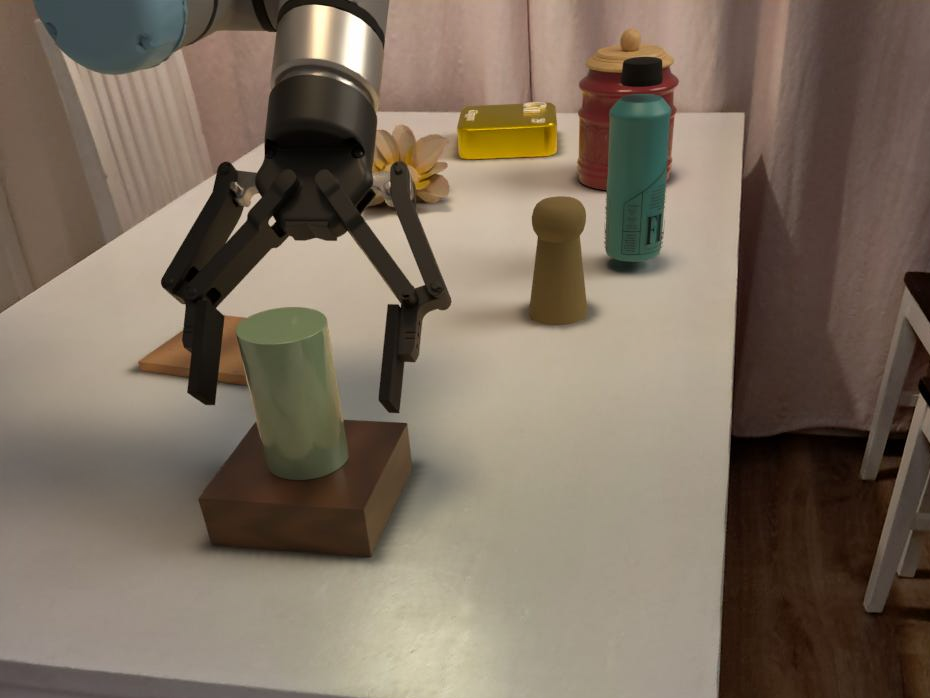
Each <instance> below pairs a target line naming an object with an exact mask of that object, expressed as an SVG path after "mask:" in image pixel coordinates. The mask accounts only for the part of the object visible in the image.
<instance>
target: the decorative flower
mask: <svg viewBox="0 0 930 698" xmlns="http://www.w3.org/2000/svg"><path fill="white" fill-rule="evenodd" d="M448 143H449V140H448V139H447V138H446V137H444V136H443V135H440V134H438V133H437V134H435V133H434V134H428V135H426V136H423V137H420V138H419V139H418V140H417V139H416V135H415V134H414V132H413V131H412V129H411V128H410V127H409V126H407V125H405V124H403V123H402V124H396V125H394V128H393V130H392V133H390V132H388V130H385V129H377V131H376V141H375V151H374V161H373V166H372V172H373V173H375V172H383V171H390V168H391V166H392V164H393V163H395V162H397V161H403V162H405V163H406V165H407V167H408V169H409V172H410V174H411V176H412V179H413V181H414V183H415V186H416V197H417V196H418V197H419V198H420V199H421V200H423V201H424V202H425V203H429V204H432V203H433V204H434V203H438V202H439V201H440V200H441V199H442V198H447V197H448V196H449V194H450V183H449V181H448V179H447V178H446V177H445V176H444V175H443V174H439V173H441V172H444V171H445V170H446V169H448V162H446V161H439V160H440V158H441V157H442V155H443V153H444V151H445V150H446V148H447V146H448ZM383 202H385V199H384V197H383V195H381V194H376V196H375V198H374V199H373V201H372V202H371V203H370V204H369V205H368V207H373V206H377V205H380V204H382V203H383ZM368 207H367V208H368Z"/></svg>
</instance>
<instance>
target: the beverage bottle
mask: <svg viewBox="0 0 930 698" xmlns="http://www.w3.org/2000/svg"><path fill="white" fill-rule="evenodd" d="M662 81H663V74H662V60H661V59H660V58H656V57H634V58H629V59H626V60H625V61H624V62H623V67H622V75H621V84H622V85H624V86H629V87H649V86H655V85H659V84H661V83H662ZM670 115H671V108H670V106H669V105H668V104H667V102H666V101H665V100H664V99H663V98H662V97H661V96H659V95H654V94H632V95H626V96H623V97H621V98H620V99H619V100H618V101H617V102H616V103H615V104H614V105H613V107H612V108H611V109H610V112H609V117H610V126H609V155H608V175H607V176H608V178H607V190H606V191H605V192H606V196H605V201H604V203H605V210H604V215H605V221H604V224H605V225H604V226H603V227H604V236H603V238H604V240H603V244H604V250H605V253H606V255H607V256H608V257H609V258H611V259H614V260H617V261H621V262H643V261H648V260H652V259H654V258H656V257H658V256H659V255H660V253H661V250H662V248H663V246H662V245H663V244H664V241H663V240H664V234H665V229H664V224H665V222H666V221H665V219H664V218H665V211H666V209H665V208H666V206H665V204H666V202H667V200H666V199H667V197H666V196H667V195H666V191H667V181H666V175H667V165H669V164H667V161H668V145H669V143H668V141H669V126H670ZM669 150H670V148H669ZM605 186H606V185H605Z"/></svg>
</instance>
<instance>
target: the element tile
mask: <svg viewBox="0 0 930 698" xmlns="http://www.w3.org/2000/svg"><path fill="white" fill-rule="evenodd" d="M557 119H558V117H557V108H556V106H555V104H553V103H552V102H543V101H529V102H524V103H510V104H509V103H507V104H487V105H468V106H464V107H463V108H462V109H461V110H460V113H459V117H458V122H457V127H456V137H457V153H458V157H459V158H460V159H462V160H468V161H469V160H470V161H473V160H474V161H475V160H497V159H501V160H502V159H520V158H543V157H551V156H553V155H555V154H556V153H557V151H558V120H557Z"/></svg>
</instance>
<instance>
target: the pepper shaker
mask: <svg viewBox="0 0 930 698" xmlns="http://www.w3.org/2000/svg"><path fill="white" fill-rule="evenodd" d="M586 223H587V211H586V207H585V206H584V204H583V203H582V201H581V200H579V199H577V198H575V197H571V196H566V195H565V196H563V195H560V196H559V195H558V196H549V197H546V198H543V199H541V200H540V201H538V202H537V203H536V204H535V206H534V208H533V210H532V214H531V226H532V230H533V232H534V233H535V235H536V236H537V239H536V248H535V249H536V250H535V258H534V267H533V275H532V284H531V292H530V300H529V308H528V316H529V318H530V319H531V320H532V321H534V322H536V323H539V324H542V325H548V326H566V325H572V324H575V323H578V322H580V321H582V320H584V319H585V318H586V317H587V316H588V304H587V303H588V302H587V293H586V283H585V275H584V273H585V271H584V263H583V254H582V242H581V235H582V233H583V232H584V231H585V228H586V227H585V226H586Z"/></svg>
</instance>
